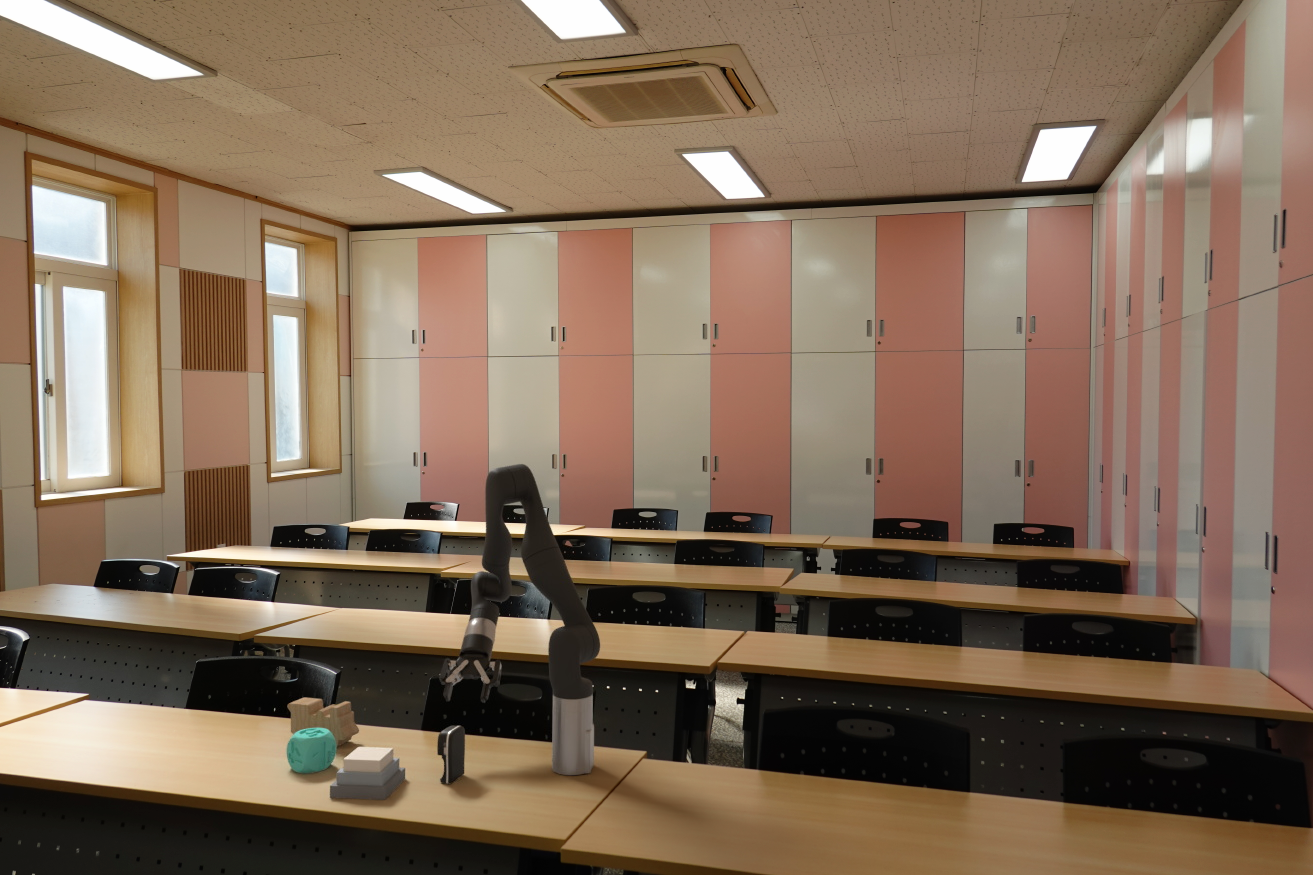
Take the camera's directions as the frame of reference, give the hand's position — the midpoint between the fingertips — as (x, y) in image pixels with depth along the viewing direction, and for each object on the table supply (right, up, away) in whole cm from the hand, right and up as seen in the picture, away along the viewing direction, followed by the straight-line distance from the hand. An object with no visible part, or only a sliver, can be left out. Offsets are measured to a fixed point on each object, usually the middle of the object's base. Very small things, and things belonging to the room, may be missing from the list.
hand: (464, 699), depth 216 cm
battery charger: (-1, -15, -11) cm, 18 cm away
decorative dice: (-35, -15, -4) cm, 38 cm away
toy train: (-38, -15, +13) cm, 43 cm away
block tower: (-17, -14, -17) cm, 28 cm away
